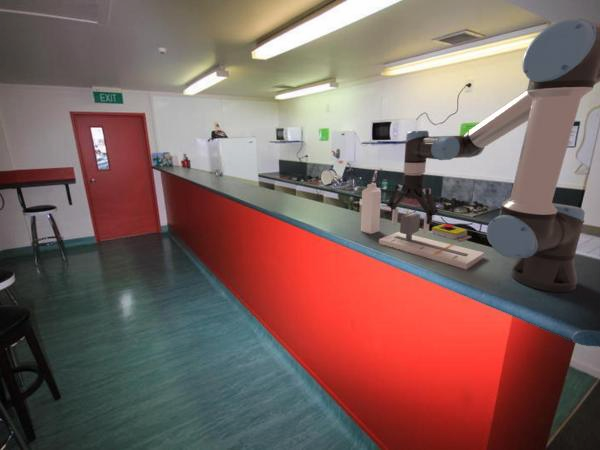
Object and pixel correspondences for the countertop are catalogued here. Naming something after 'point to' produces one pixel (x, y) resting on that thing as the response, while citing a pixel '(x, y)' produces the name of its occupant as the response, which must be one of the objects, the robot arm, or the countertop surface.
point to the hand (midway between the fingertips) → (409, 228)
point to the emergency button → (450, 232)
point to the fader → (409, 224)
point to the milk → (370, 209)
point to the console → (434, 250)
